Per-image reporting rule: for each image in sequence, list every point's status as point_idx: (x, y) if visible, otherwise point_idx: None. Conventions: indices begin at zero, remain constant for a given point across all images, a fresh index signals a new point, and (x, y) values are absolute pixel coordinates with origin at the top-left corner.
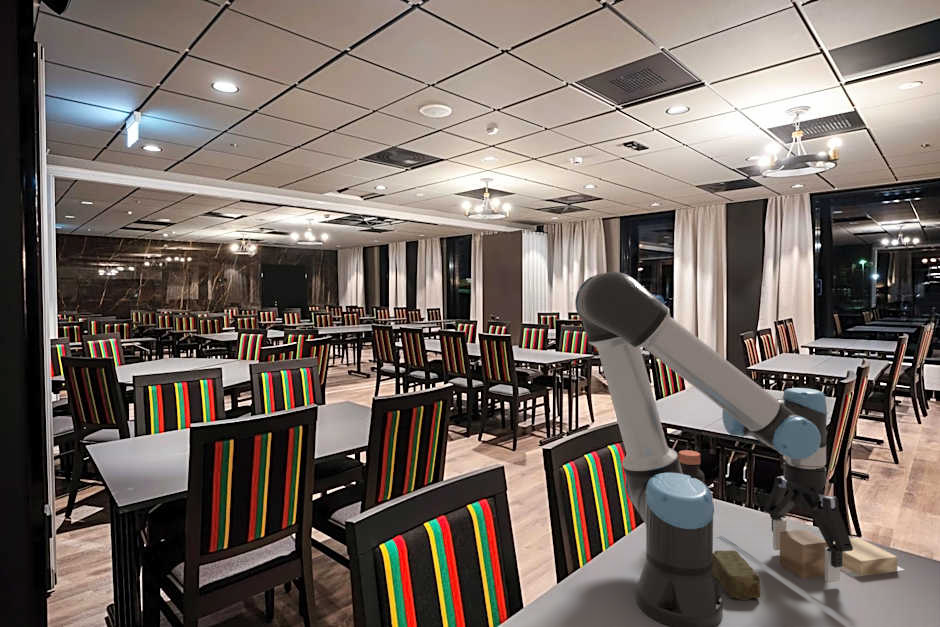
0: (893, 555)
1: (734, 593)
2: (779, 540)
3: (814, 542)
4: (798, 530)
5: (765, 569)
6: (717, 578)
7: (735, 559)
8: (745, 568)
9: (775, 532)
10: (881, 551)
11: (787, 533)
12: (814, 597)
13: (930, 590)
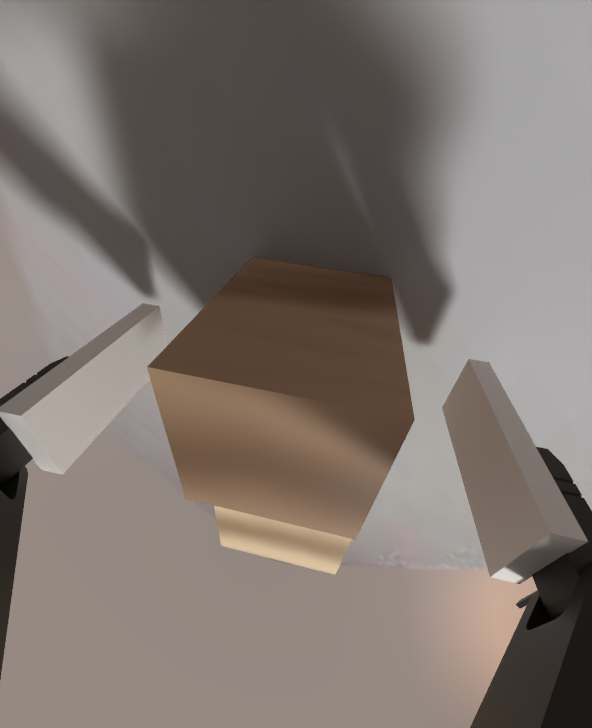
0: (229, 546)
1: None
2: (472, 415)
3: (183, 452)
4: (360, 515)
5: (426, 191)
6: None
7: None
8: None
9: (508, 440)
10: (252, 548)
11: (359, 439)
12: (142, 200)
13: (179, 488)
